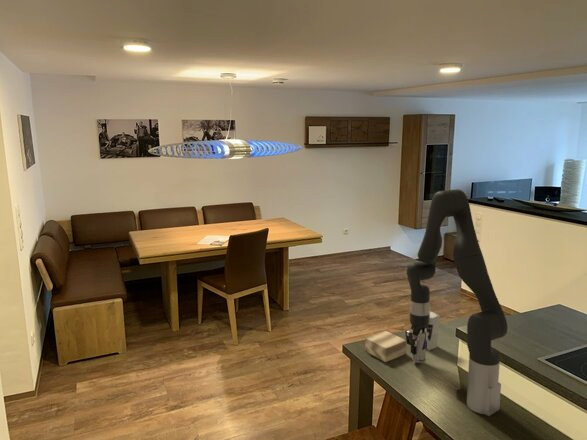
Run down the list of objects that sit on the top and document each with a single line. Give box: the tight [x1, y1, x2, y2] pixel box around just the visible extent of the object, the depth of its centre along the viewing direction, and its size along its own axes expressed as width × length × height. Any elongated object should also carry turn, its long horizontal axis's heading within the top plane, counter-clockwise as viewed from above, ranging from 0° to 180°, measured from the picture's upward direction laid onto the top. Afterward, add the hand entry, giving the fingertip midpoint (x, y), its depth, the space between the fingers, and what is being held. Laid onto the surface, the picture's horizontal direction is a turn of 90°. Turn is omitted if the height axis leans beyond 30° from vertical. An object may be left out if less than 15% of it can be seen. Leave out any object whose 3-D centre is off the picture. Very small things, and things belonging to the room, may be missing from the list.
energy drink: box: [411, 332, 427, 364], centre depth 175 cm, size 5×5×12 cm
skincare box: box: [427, 311, 441, 351], centre depth 190 cm, size 8×6×15 cm
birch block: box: [364, 330, 407, 363], centre depth 185 cm, size 12×12×6 cm
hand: (418, 351), depth 176 cm, fingers closed on energy drink, 5 cm apart
